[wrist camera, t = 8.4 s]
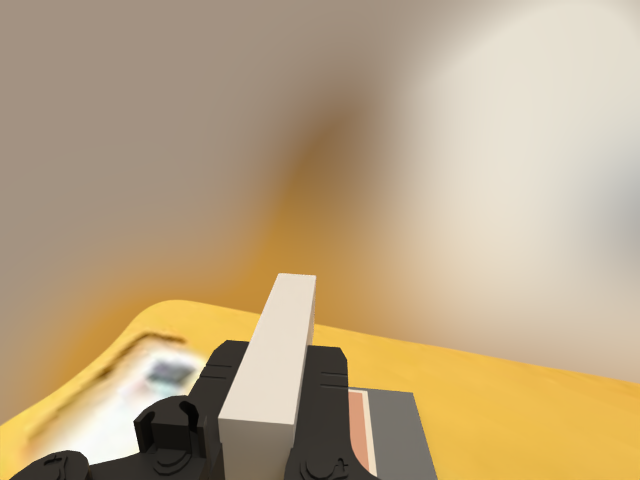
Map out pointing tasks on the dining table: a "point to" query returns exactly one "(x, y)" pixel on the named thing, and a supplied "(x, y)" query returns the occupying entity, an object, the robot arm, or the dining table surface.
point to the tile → (361, 429)
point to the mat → (398, 436)
